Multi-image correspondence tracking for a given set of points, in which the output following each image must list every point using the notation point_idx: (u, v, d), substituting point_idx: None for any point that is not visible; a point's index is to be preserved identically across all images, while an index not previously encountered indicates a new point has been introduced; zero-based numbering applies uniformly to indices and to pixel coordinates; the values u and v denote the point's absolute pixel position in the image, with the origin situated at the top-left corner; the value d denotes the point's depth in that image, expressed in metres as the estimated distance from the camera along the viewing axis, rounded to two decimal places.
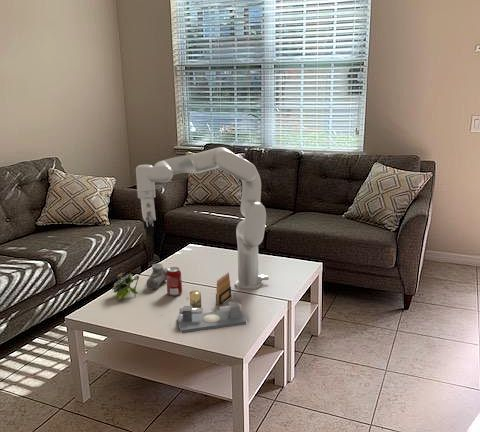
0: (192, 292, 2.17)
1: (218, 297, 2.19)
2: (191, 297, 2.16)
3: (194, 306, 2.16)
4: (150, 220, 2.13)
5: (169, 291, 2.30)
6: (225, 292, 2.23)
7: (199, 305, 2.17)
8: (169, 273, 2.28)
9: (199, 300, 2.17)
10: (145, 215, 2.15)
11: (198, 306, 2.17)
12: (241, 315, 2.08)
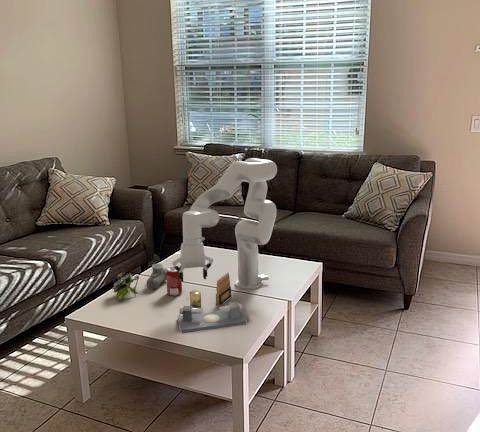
0: (192, 292, 2.17)
1: (218, 297, 2.19)
2: (191, 297, 2.16)
3: (194, 306, 2.16)
4: None
5: (169, 291, 2.30)
6: (225, 292, 2.23)
7: (199, 305, 2.17)
8: (169, 273, 2.28)
9: (199, 300, 2.17)
10: None
11: (198, 306, 2.17)
12: (241, 315, 2.08)
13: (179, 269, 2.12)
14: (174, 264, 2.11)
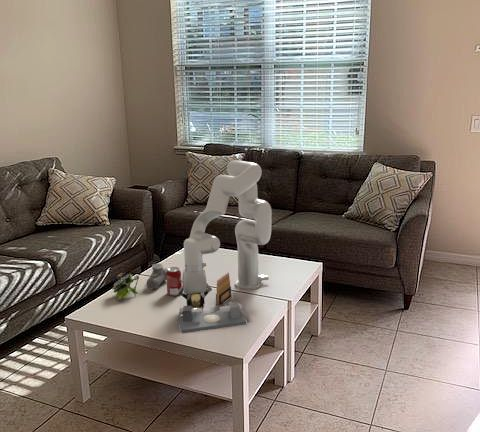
0: None
1: (218, 297, 2.19)
2: (191, 297, 2.16)
3: (194, 306, 2.16)
4: None
5: (169, 291, 2.30)
6: (225, 292, 2.23)
7: (199, 304, 2.17)
8: (169, 273, 2.28)
9: (199, 300, 2.17)
10: (206, 285, 2.16)
11: (198, 306, 2.17)
12: (241, 315, 2.08)
13: (186, 297, 2.16)
14: (180, 293, 2.15)
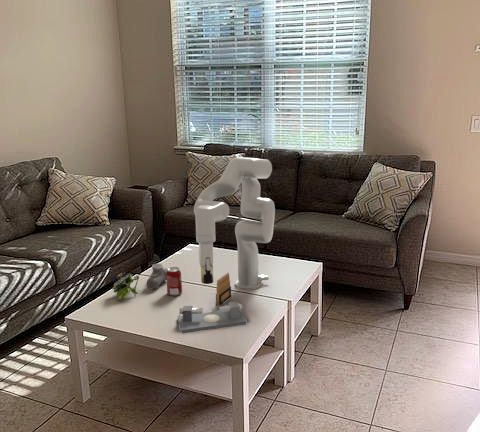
0: None
1: (218, 297, 2.19)
2: (211, 269, 2.00)
3: None
4: None
5: (169, 291, 2.30)
6: (225, 292, 2.23)
7: None
8: (169, 273, 2.28)
9: None
10: None
11: None
12: (241, 315, 2.08)
13: (210, 272, 1.98)
14: (209, 269, 1.95)
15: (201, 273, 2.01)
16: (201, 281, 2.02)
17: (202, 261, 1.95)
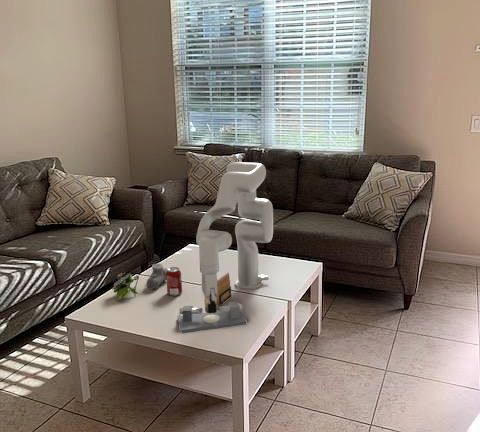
0: None
1: (218, 297, 2.19)
2: None
3: (216, 307, 2.04)
4: None
5: (169, 291, 2.30)
6: (225, 292, 2.23)
7: None
8: (169, 273, 2.28)
9: None
10: None
11: None
12: (241, 315, 2.08)
13: (214, 301, 1.99)
14: (214, 299, 1.97)
15: (205, 303, 2.02)
16: (205, 310, 2.04)
17: (207, 291, 1.97)
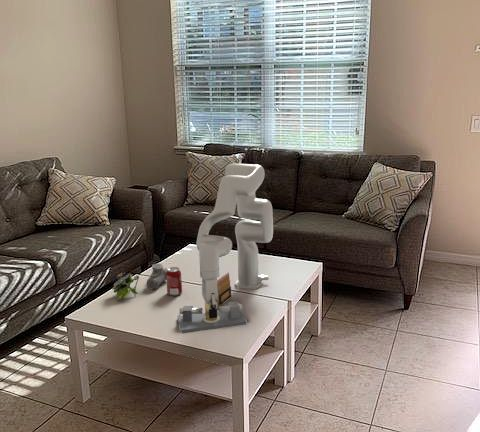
0: None
1: (218, 297, 2.19)
2: None
3: None
4: None
5: (169, 291, 2.30)
6: (225, 292, 2.23)
7: None
8: (169, 273, 2.28)
9: None
10: None
11: None
12: (241, 315, 2.08)
13: None
14: (215, 303, 1.96)
15: (205, 310, 2.04)
16: None
17: (207, 297, 1.97)
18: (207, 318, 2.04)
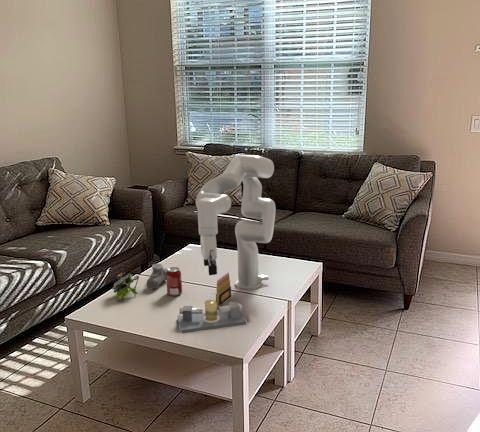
0: (210, 303, 2.03)
1: (218, 297, 2.19)
2: (215, 306, 2.03)
3: None
4: None
5: (169, 291, 2.30)
6: (225, 292, 2.23)
7: None
8: (169, 273, 2.28)
9: None
10: None
11: None
12: (241, 315, 2.08)
13: None
14: (214, 259, 1.95)
15: (205, 310, 2.04)
16: None
17: (206, 253, 1.96)
18: (207, 318, 2.04)
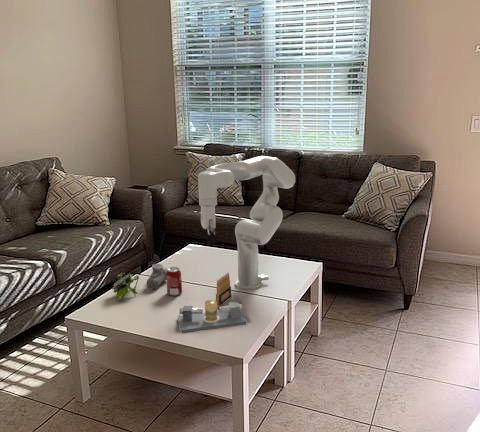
0: (210, 303, 2.03)
1: (218, 297, 2.19)
2: (215, 306, 2.03)
3: None
4: None
5: (169, 291, 2.30)
6: (225, 292, 2.23)
7: None
8: (169, 273, 2.28)
9: None
10: None
11: None
12: (241, 315, 2.08)
13: None
14: (213, 227, 2.09)
15: (205, 310, 2.04)
16: None
17: (206, 223, 2.10)
18: (207, 318, 2.04)
